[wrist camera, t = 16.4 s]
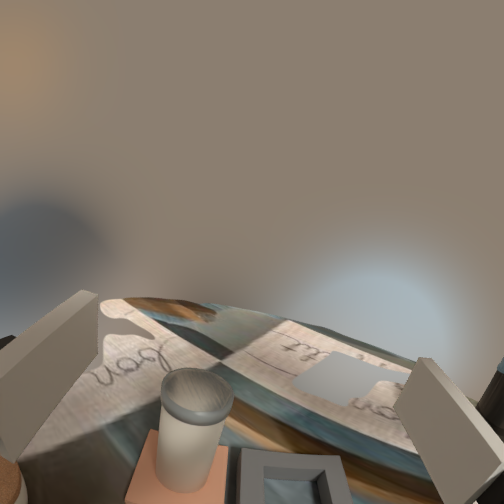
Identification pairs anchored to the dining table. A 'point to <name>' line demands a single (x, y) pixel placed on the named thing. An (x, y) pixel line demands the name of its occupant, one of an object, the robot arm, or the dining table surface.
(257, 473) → the frame
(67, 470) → the dining table surface
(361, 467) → the dining table surface
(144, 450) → the rubber mat
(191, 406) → the filter cartridge
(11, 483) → the lidded jar
